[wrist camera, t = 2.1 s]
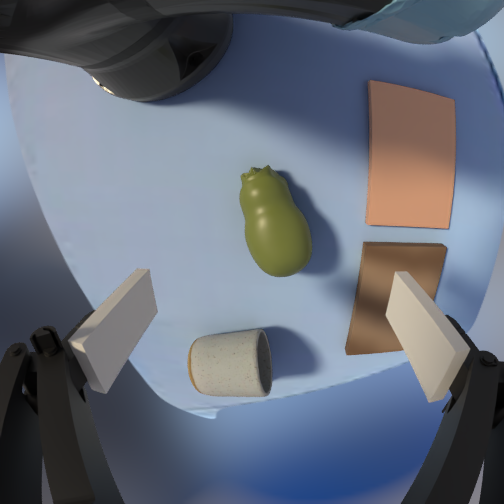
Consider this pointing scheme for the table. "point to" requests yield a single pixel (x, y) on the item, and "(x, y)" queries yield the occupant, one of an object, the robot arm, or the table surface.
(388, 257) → the walnut board
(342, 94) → the table surface
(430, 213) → the terracotta tile
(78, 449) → the robot arm
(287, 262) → the green oblong lump
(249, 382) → the ceramic mug
